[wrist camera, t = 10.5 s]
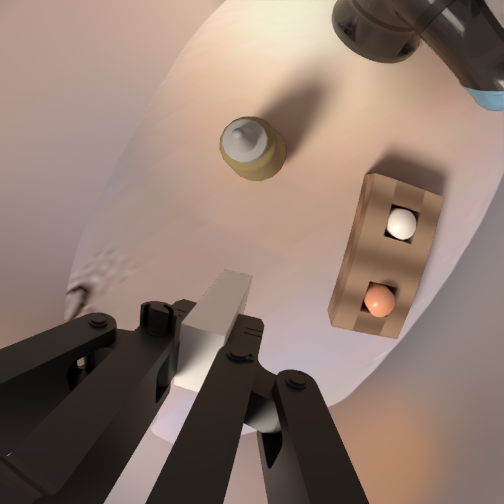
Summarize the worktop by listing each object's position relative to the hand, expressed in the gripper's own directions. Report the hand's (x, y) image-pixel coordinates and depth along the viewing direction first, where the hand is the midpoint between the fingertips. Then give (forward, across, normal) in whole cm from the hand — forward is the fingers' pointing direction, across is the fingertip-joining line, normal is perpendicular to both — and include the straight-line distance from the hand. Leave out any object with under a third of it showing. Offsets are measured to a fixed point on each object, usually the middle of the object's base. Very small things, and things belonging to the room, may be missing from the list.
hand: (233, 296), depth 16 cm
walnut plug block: (+29, +18, 0) cm, 34 cm away
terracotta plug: (+28, +17, -5) cm, 33 cm away
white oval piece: (+29, +17, +5) cm, 34 cm away
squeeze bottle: (+30, -4, +10) cm, 32 cm away
